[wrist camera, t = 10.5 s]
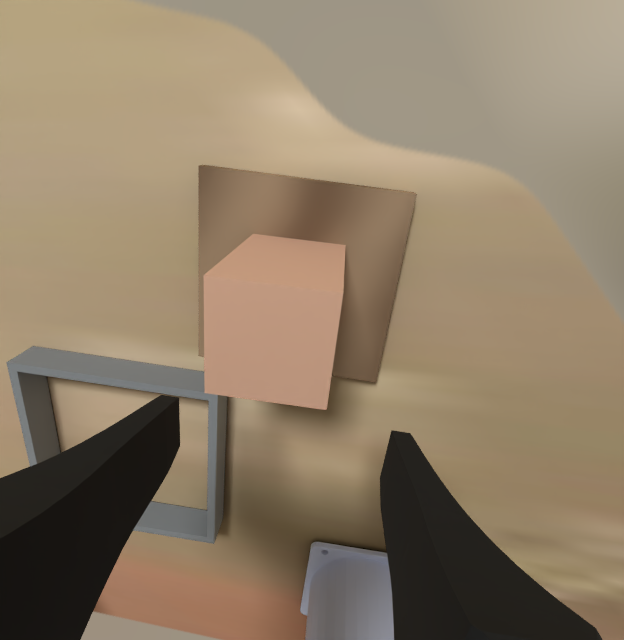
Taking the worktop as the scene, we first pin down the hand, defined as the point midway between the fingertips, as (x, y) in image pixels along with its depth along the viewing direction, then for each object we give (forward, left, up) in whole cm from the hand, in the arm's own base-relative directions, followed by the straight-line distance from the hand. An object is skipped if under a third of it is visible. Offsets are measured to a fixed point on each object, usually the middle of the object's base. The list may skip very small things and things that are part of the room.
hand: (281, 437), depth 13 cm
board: (+1, -3, -9) cm, 10 cm away
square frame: (+10, +10, -9) cm, 17 cm away
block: (+1, -3, -8) cm, 9 cm away
